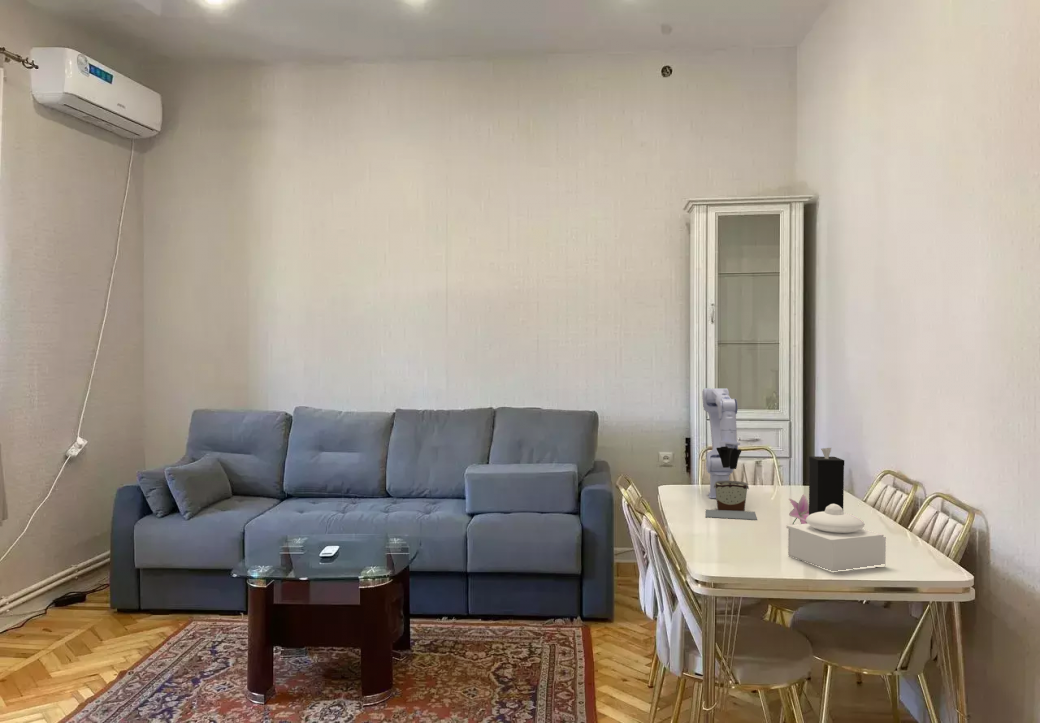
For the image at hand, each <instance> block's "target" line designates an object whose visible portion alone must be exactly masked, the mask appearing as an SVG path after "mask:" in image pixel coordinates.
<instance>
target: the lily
mask: <svg viewBox="0 0 1040 723" xmlns="http://www.w3.org/2000/svg"><path fill="white" fill-rule="evenodd" d="M788 500H789V502H790V503H791V505H792V507H793V509H792V510H790V512H789V513H788V516H790V517H792V518H795V519H794V520H793V522H792V524H793V525H795V522H796V521H797V519H798V520H799V521H800V522H799V523H800V524H808V523H807V522H806V518H807V517H808V516H809V500H808V499H807V497H806V495H805V494H804V493H803V494H802V495H801V497H800V498H799V501H796V500H794V499H792V498H788Z"/></svg>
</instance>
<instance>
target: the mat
mask: <svg viewBox="0 0 1040 723" xmlns="http://www.w3.org/2000/svg"><path fill="white" fill-rule="evenodd" d="M705 510H706V511H705V518H707V517H712V519H726V518H728V520H745V521H746V520H748V521H758V517H757V514H756V512H755V511H746V510H745V511H726V510H717V509H705Z"/></svg>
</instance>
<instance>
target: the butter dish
mask: <svg viewBox="0 0 1040 723" xmlns="http://www.w3.org/2000/svg"><path fill="white" fill-rule="evenodd" d="M806 522H807V523H808V524H801V523H798V524H793V525H792V524H787V525H786V529H788V539H787V540H788V546H787V548H788V550H787V553H788V555H789V556H788V557H790V556H792V557H794V558H793V559H795V558H797V559H800V560H803V561H806V562H808V563H812V564H814V565H817V566H820V567H822V568H825V569H828V570H831V571H838V570H846V569H853V568H860V567H867V566H874V565H881V564H885V565H886V556H887V555H886V551H887V549H886V547H887V546H886V544H887V543H886V542H887V540H886V539H887V538H886V536H884V534H881V533H879V532H875V531H872V530H868V529H865V528H864V527H865V522H864V521H863V520H862V519H861V517H858V516H856V515H853V514H851V513H846V512H844V508H843V509H842V508H841V507H840V506H839V505H837V504H830V505H829V506H827V507H826V509H825V511H823V512H816V513H813V514H810V515H809V516H808V517H807V518H806ZM792 557H791V558H792ZM797 559H796V560H797ZM800 560H799V561H800ZM803 561H802V562H803ZM808 563H807V564H808Z"/></svg>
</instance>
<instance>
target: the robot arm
mask: <svg viewBox="0 0 1040 723" xmlns="http://www.w3.org/2000/svg"><path fill="white" fill-rule="evenodd" d="M701 397H702V408H703V410H704V411H705V412H707V414H708V416H709V425H710V427H709V428H710V437H711V446H712V447H711V448H712V449H711V450H710V451H709V452H707V454H706V457H705V461H706V462H705V468H706V472H707V474H709V492H708V498H709V499H716V489H715V488H714V484H715V482H717V481H730V476H731V474H733V472H734V470H737V467H738V461H739V457H740V455H741V453H742V449H739V446H741V443H740V442H738V437H737V435H738V434H737V414H738V408H739V407H738V405H739V404H738V401H737V400H738V399H737V398H731V396H730V391H729V389H728V388H727V387H725V388H716V387H715V388H713V387H712V388H711V387H710V388H707V387H704V388H703V389H702V396H701Z"/></svg>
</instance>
